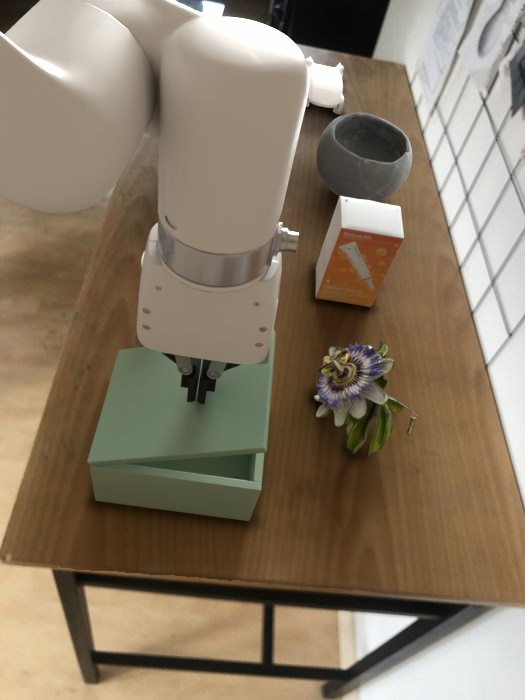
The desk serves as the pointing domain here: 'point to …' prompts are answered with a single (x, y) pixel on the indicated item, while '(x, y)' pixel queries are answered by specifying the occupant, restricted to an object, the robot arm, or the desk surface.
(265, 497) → the desk surface
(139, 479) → the box
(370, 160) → the bowl
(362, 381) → the passion flower
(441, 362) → the desk surface
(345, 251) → the small box
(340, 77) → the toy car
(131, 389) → the lid
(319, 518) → the desk surface
